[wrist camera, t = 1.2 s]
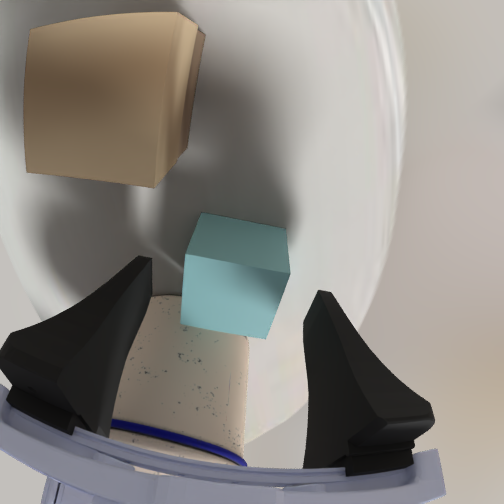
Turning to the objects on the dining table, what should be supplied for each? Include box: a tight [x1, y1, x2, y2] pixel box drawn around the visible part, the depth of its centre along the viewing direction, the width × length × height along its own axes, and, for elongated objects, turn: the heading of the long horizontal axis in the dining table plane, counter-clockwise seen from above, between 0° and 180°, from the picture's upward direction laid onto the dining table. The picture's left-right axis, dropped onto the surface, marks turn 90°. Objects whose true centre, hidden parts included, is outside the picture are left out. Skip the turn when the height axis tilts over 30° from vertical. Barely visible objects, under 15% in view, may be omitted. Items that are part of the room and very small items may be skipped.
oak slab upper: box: [24, 12, 198, 188], centre depth 8 cm, size 5×5×2 cm
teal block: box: [180, 212, 290, 339], centre depth 14 cm, size 4×4×4 cm
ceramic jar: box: [109, 295, 249, 477], centre depth 15 cm, size 12×9×12 cm
